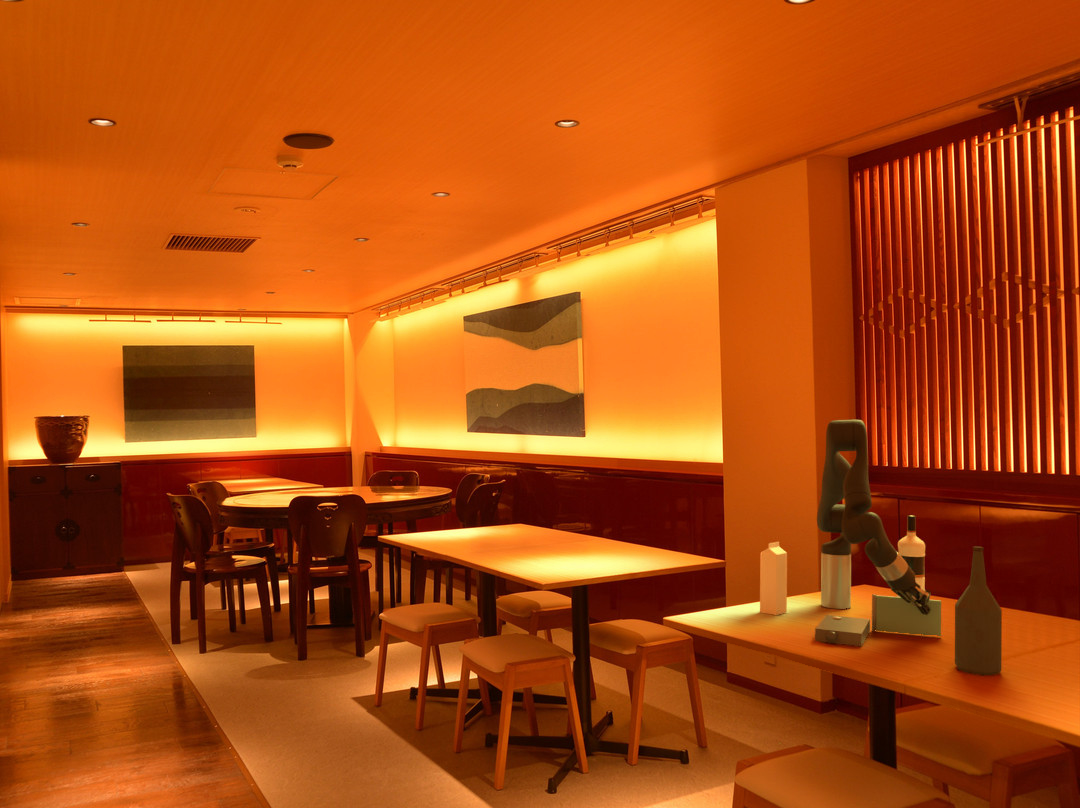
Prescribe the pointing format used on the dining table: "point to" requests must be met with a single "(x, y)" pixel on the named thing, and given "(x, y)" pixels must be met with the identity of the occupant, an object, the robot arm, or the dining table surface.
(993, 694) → the dining table surface
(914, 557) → the vodka
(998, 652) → the bottle
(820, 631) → the box with round knob
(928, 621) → the door
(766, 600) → the milk
